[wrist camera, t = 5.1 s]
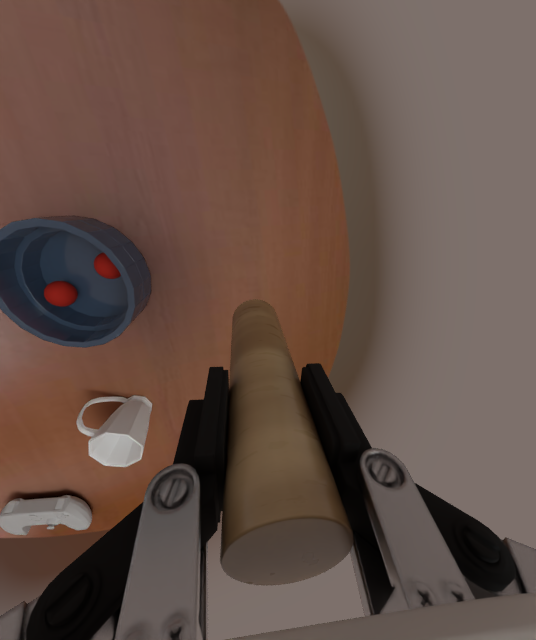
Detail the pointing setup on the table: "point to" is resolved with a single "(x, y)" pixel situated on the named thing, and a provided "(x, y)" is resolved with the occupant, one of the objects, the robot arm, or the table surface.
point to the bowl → (70, 279)
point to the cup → (119, 431)
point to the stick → (275, 465)
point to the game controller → (45, 514)
